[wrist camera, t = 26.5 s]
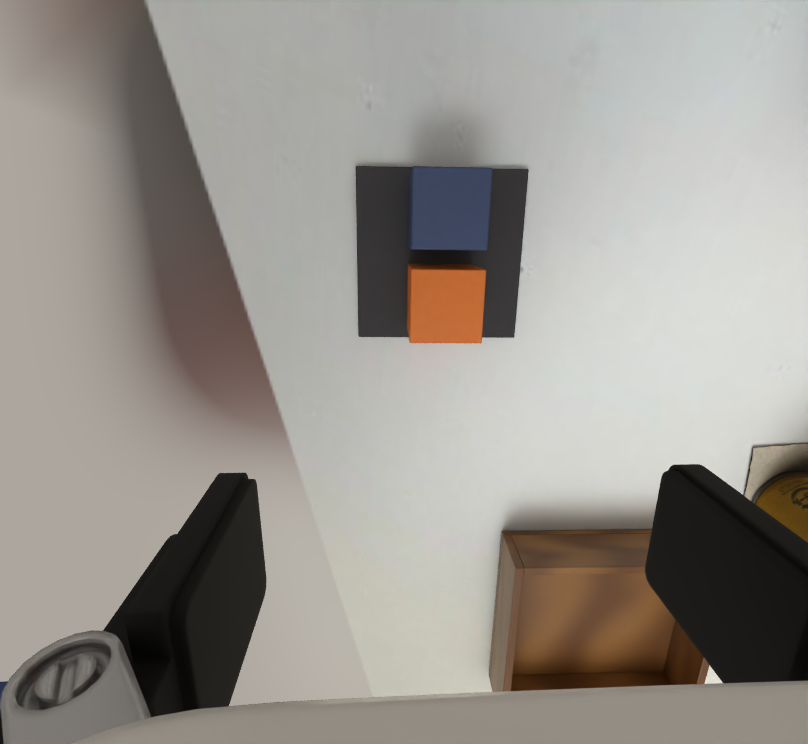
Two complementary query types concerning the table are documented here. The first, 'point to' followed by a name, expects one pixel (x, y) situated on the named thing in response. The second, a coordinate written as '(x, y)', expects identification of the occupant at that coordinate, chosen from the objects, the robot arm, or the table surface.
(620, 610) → the tray
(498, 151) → the table surface
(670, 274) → the table surface
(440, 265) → the orange cube
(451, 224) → the blue cube
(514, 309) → the mat
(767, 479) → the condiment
